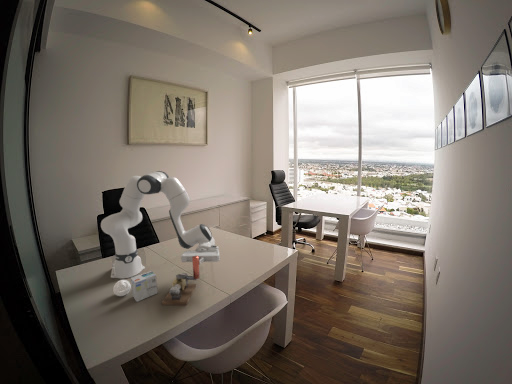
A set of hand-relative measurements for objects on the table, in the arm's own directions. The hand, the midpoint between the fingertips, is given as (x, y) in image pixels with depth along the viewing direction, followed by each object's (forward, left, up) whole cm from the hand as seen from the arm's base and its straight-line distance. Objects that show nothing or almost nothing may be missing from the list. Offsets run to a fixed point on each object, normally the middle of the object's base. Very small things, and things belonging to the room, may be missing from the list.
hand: (197, 263), depth 115 cm
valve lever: (-3, -4, -9) cm, 10 cm away
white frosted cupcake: (-27, -30, -18) cm, 44 cm away
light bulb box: (-19, -21, -18) cm, 34 cm away
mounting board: (-7, -7, -18) cm, 21 cm away
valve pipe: (-7, -7, -16) cm, 19 cm away
